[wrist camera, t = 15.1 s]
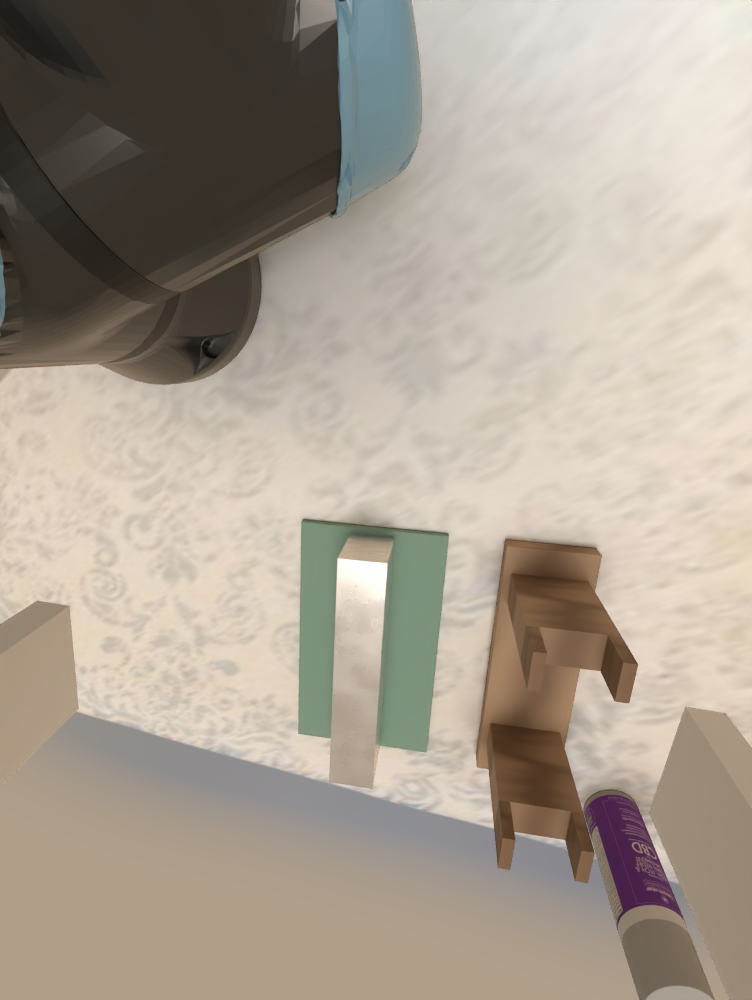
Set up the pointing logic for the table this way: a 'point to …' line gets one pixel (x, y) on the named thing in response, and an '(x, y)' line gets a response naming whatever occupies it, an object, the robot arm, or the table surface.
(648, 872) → the container
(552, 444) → the table surface
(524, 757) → the rack
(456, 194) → the table surface
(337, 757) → the rail
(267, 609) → the table surface
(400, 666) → the mat
